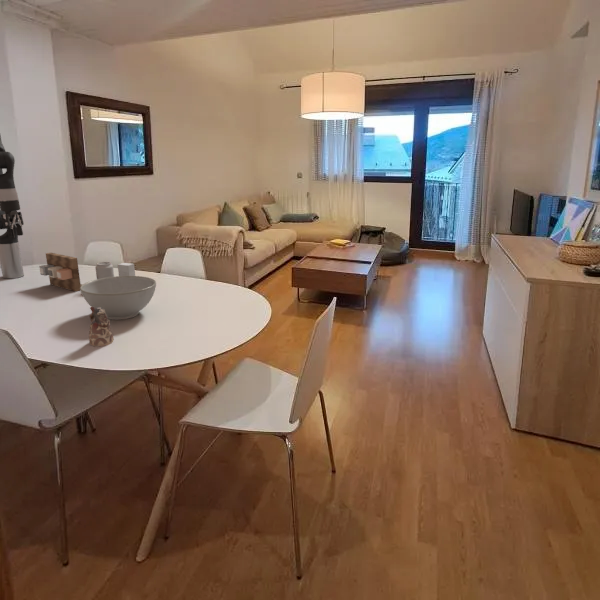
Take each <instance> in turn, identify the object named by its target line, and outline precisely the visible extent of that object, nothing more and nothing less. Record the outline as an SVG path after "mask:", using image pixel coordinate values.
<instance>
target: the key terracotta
mask: <svg viewBox="0 0 600 600" xmlns="http://www.w3.org/2000/svg"><path fill="white" fill-rule="evenodd" d="M56 271H57V278H58V279H60V280H66V279H70V278H73V276H72V269H70V268H65V269H59V270H56Z"/></svg>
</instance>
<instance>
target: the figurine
mask: <svg viewBox="0 0 600 600" xmlns="http://www.w3.org/2000/svg"><path fill="white" fill-rule="evenodd" d="M89 309H90V311H91V313H90V314H89V318H90V325H89V333H88V335H89V336H88V338H89V339H88V340H89V344H90V345H91V346H92V347H103V346H105V347H106V346H108V345H111V344H112V343H114V340H115V339H114V334H113V332H112V327H111V323H110V322H111V321H110V320H111V319H108V318H107V315H106V313H105V310H104V309H103V308H101V307H97V308H94V307H93V306H92V307H91V306H90V308H89Z"/></svg>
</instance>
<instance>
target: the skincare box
mask: <svg viewBox="0 0 600 600" xmlns="http://www.w3.org/2000/svg"><path fill="white" fill-rule="evenodd" d="M117 270H118V271H117V272H118V276H136V270H135V264H134V263H130V262H129V263H128V262H122V263H118V264H117Z"/></svg>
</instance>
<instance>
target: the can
mask: <svg viewBox="0 0 600 600" xmlns="http://www.w3.org/2000/svg"><path fill="white" fill-rule="evenodd" d="M95 276H96V280H97V279H101V278H108V277H115V271H114V265H113V264H112V262H110V261H102V262H97V263H96V266H95Z"/></svg>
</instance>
